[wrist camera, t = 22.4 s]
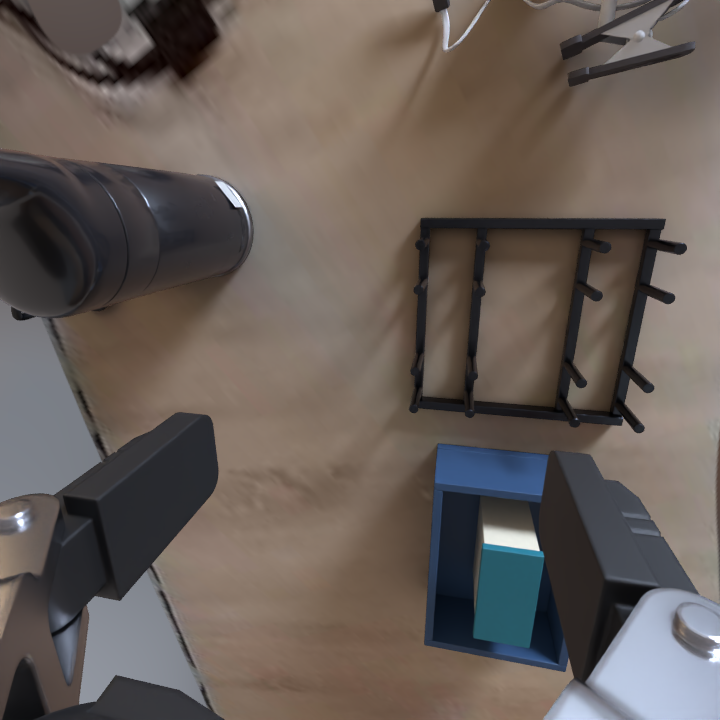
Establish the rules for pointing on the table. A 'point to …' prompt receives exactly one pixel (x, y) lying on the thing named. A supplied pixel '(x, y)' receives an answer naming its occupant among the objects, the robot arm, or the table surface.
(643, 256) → the dish rack
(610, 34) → the clip-on lamp
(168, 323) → the table surface
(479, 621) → the container
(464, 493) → the bin
